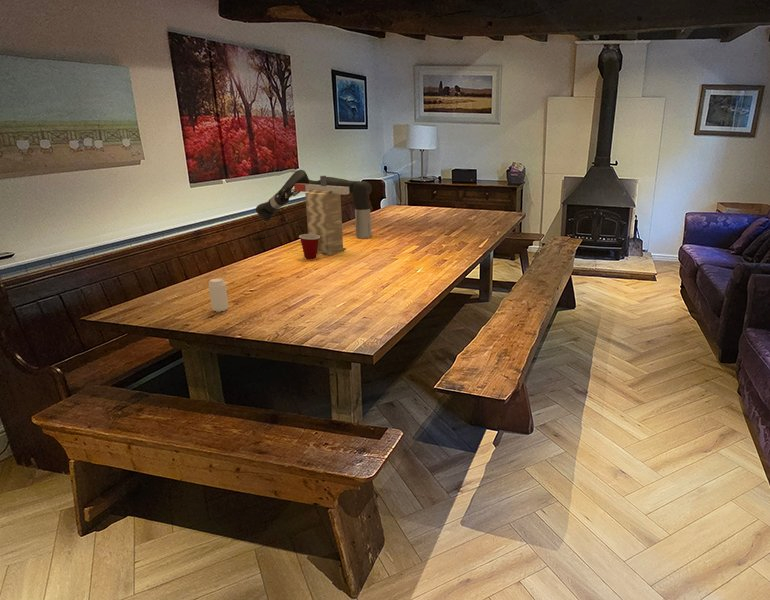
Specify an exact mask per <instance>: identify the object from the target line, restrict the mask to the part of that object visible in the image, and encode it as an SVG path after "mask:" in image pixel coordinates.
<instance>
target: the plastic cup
mask: <svg viewBox="0 0 770 600" xmlns="http://www.w3.org/2000/svg"><path fill="white" fill-rule="evenodd" d="M298 237H299V239H300V240H299V241H300V243H301V248H302V252H303V256H304V259H305V258H306V259H305V260H315V259H317V256H318V254H317V248H318V241H319V238H320V236H319V235H315V234H308V233H304V234H300V235H299V236H298Z"/></svg>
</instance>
